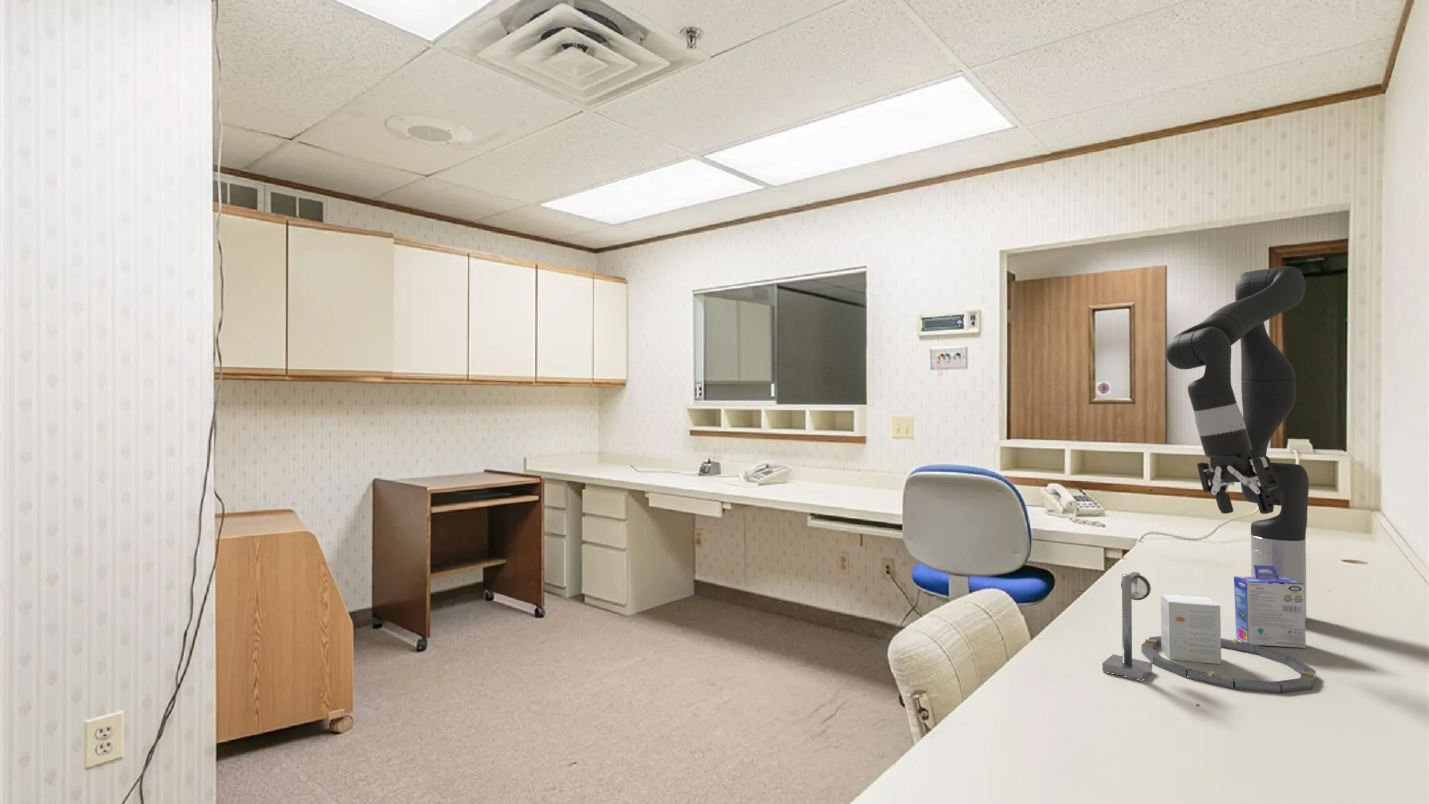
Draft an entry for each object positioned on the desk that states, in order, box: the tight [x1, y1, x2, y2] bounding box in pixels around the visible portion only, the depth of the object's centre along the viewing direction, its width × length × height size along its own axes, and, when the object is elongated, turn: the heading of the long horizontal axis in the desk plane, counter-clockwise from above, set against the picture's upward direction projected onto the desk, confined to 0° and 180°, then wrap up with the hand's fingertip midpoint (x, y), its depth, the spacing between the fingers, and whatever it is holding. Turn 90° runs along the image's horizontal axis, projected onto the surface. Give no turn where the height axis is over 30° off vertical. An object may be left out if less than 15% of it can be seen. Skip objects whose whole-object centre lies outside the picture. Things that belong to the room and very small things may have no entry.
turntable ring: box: [1141, 635, 1317, 694], centre depth 122 cm, size 24×24×2 cm
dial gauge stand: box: [1102, 571, 1153, 682], centre depth 120 cm, size 9×6×16 cm, turn 135°
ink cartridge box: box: [1233, 565, 1307, 649], centre depth 133 cm, size 10×6×14 cm, turn 78°
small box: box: [1160, 593, 1222, 665], centre depth 125 cm, size 8×6×10 cm
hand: (1246, 513), depth 132 cm, fingers open, 8 cm apart
